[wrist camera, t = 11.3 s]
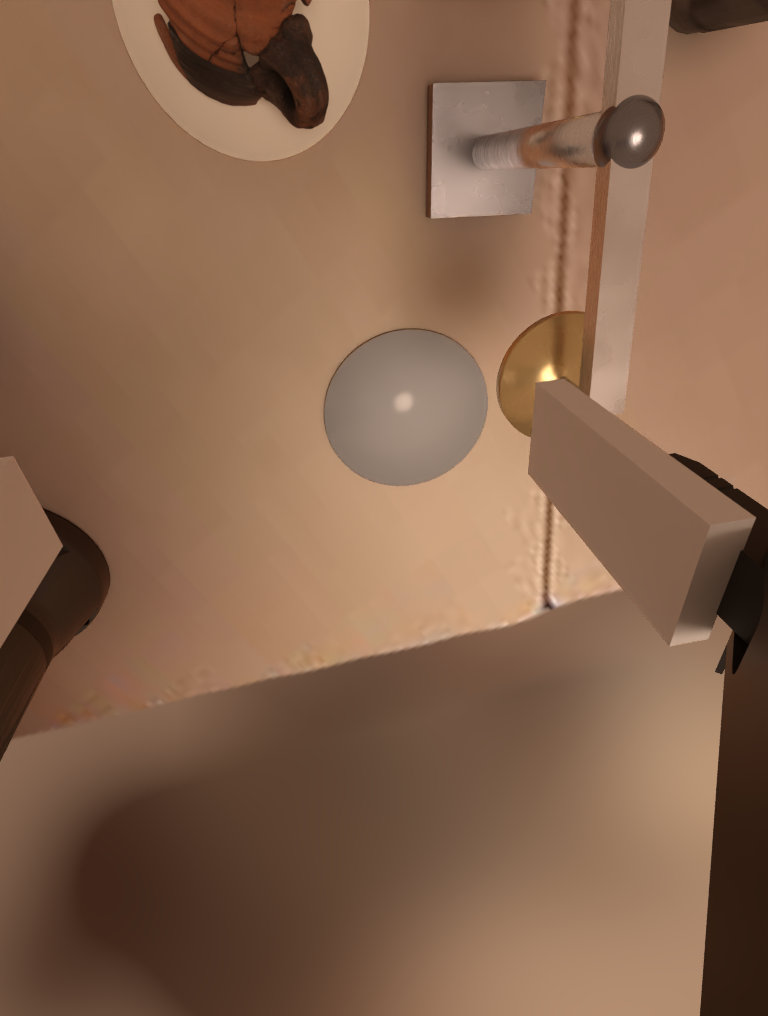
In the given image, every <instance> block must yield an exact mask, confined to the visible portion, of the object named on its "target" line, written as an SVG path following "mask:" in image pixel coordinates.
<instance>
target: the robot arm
mask: <svg viewBox="0 0 768 1016" xmlns="http://www.w3.org/2000/svg"><path fill="white" fill-rule="evenodd" d="M528 474H529V475H530V476H531V478H532V479H533V480H534V481H535V482H536V484H537V485H538V486H539V487H540V489H541V490H542V491H543V492H544V493H545V495H546V496H547V497H548V498H549V500H550V501H551V502H552V503H553V504H554V506H555V507H556V508H557V509H558V511H559V512H560V513H561V514H562V516H563V517H564V518H565V519H566V520H567V522H568V523H569V524H570V525H571V527H572V528H573V529H574V530H575V531H576V533H577V534H578V535H579V536H580V538H581V539H582V540H583V541H584V542H585V544H586V545H587V546H588V547H589V549H590V550H591V551H592V552H593V553H594V555H595V556H596V557H597V558H598V560H599V561H600V562H601V563H602V564H603V566H604V567H605V568H606V569H607V571H608V572H609V573H610V574H611V575H612V577H613V578H614V579H615V580H616V582H617V583H618V584H619V585H620V586H621V588H622V589H623V590H624V591H625V592H626V594H627V595H628V596H629V597H630V599H631V600H632V601H633V602H634V604H635V605H636V606H637V607H638V608H639V610H640V611H641V612H642V613H643V615H644V616H645V617H646V618H647V620H648V621H649V622H650V623H651V624H652V626H653V627H654V628H655V629H656V631H657V632H658V633H659V634H660V635H661V637H662V638H663V639H664V640H665V642H666V643H667V644H668V645H669V646H674V645H678V644H684V643H690V642H695V641H700V640H705V639H708V638H709V635H710V633H711V630H712V628H713V625H714V622H715V620H716V617H717V615H719V617H720V618H721V619H722V620H723V621H724V622H725V623H726V624H727V625H728V626H729V627H730V628H731V629H732V630H733V631H732V633H731V636H730V638H729V640H728V643H727V645H726V648H725V650H724V652H723V655H722V657H721V659H720V661H719V664H718V666H717V668H716V671H715V672H717V673H720V674H722V673H723V671H724V669H725V677H724V690H723V704H722V718H721V732H720V746H719V761H718V773H717V787H716V801H715V815H714V829H713V842H712V856H711V870H710V884H709V899H708V911H707V912H708V913H707V925H706V940H705V953H704V968H703V980H702V994H701V1008H700V1016H768V509H766V508H765V507H763V506H762V505H761V504H759V503H758V502H756V501H755V500H753V499H752V498H750V497H749V496H747V495H746V494H745V493H743V492H742V491H740V490H739V489H734V488H733V485H731V484H730V483H729V482H727V481H726V480H724V479H723V478H718V475H717V474H715V473H714V472H713V471H711V470H710V469H708V468H707V467H705V466H704V465H702V464H701V463H699V462H697V461H694V460H691V459H689V458H686V457H684V456H681V455H678V454H676V453H673V454H667V453H666V452H665V451H663V450H662V449H660V448H659V447H658V446H656V445H655V444H654V443H652V442H651V441H649V440H648V439H647V438H645V437H644V436H642V435H641V434H640V433H638V432H637V431H636V430H634V429H633V428H631V427H630V426H629V425H627V424H626V423H624V422H623V421H622V420H620V419H619V418H618V417H616V416H615V415H613V414H612V413H611V412H609V411H608V410H606V409H605V408H604V407H602V406H601V405H600V404H598V403H597V402H595V401H594V400H593V399H591V398H590V397H588V396H587V395H586V394H584V393H583V392H582V391H580V390H579V389H577V388H576V387H575V386H573V385H572V384H570V383H569V382H568V381H566V380H565V379H557V380H550V381H543V382H536V387H535V398H534V410H533V421H532V433H531V445H530V456H529V468H528ZM109 585H110V575H109V570H108V566H107V563H106V561H105V559H104V557H103V555H102V553H101V552H100V550H99V549H98V547H97V546H96V545H95V544H94V542H93V541H92V540H91V539H90V538H89V537H88V536H87V535H85V534H84V533H83V532H82V531H81V530H80V529H78V528H77V527H75V526H74V525H72V524H71V523H69V522H68V521H66V520H64V519H63V518H61V517H59V516H57V515H55V514H52V513H50V512H48V511H45V510H43V509H42V507H41V505H40V503H39V501H38V500H37V498H36V496H35V494H34V492H33V491H32V489H31V487H30V485H29V483H28V481H27V480H26V478H25V476H24V474H23V472H22V471H21V469H20V467H19V465H18V463H17V462H16V460H15V458H14V456H8V457H1V458H0V761H1V759H2V757H3V755H4V753H5V751H6V749H7V747H8V745H9V743H10V741H11V739H12V737H13V735H14V733H15V731H16V729H17V727H18V725H19V723H20V721H21V719H22V717H23V715H24V713H25V711H26V709H27V707H28V705H29V703H30V701H31V699H32V697H33V695H34V693H35V691H36V690H37V688H38V686H39V684H40V682H41V680H42V678H43V675H44V673H45V672H46V670H47V668H48V666H49V664H50V662H51V660H52V659H53V658H54V657H55V656H56V655H57V654H58V653H59V652H60V651H61V650H62V649H63V648H64V647H65V646H66V645H67V644H68V643H69V642H70V641H71V640H72V639H73V637H74V636H76V635H77V634H79V633H80V632H82V631H83V630H84V629H85V628H86V627H87V626H89V625H90V624H91V622H92V621H93V620H94V619H95V617H96V616H97V614H98V613H99V611H100V609H101V607H102V605H103V603H104V600H105V598H106V596H107V594H108V590H109Z"/></svg>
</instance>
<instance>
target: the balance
mask: <svg viewBox="0 0 768 1016" xmlns="http://www.w3.org/2000/svg"><path fill="white" fill-rule="evenodd" d="M671 2H672V0H610V11H609V24H608V36H607V48H606V60H605V73H604V85H603V97H602V110H601V112H597V113H592V114H587V115H582V116H577V117H573V118H568V119H563V120H558V121H553V122H548V123H544V124H541V122H542V113H543V104H544V95H545V86H546V80H545V81H502V82H459V83H433V84H431V85H430V86H428V123H427V206H426V217H428V218H448V217H469V216H489V215H510V214H530V213H531V212H532V203H533V194H534V185H535V176H536V169H546V168H594V167H597V171H596V183H595V195H594V208H593V220H592V232H591V244H590V257H589V269H588V281H587V293H586V306H585V312H581V311H564V312H559V313H555V314H551V315H549V316H547V317H544V318H542V319H540V320H539V321H537V322H535V323H534V324H532V325H531V326H529V327H528V328H527V329H526V330H525V331H523V332H522V333H521V334H520V335H519V336H518V337H517V339H516V340H515V341H514V342H513V343H512V345H511V346H510V348H509V349H508V351H507V352H506V354H505V356H504V358H503V360H502V363H501V365H500V369H499V372H498V377H497V388H496V391H497V399H498V402H499V406H500V408H501V410H502V412H503V414H504V416H505V417H506V418H507V420H508V421H509V422H510V423H511V424H512V425H513V427H514V428H516V429H517V430H518V431H519V432H521V433H523V434H524V435H527V436H529V437H531V433H532V421H533V410H534V398H535V387H536V382H543V381H550V380H557V379H565V380H566V381H568V382H569V383H570V384H572V385H573V386H575V387H576V388H577V389H579V390H580V391H582V392H583V393H584V394H586V395H587V396H588V397H590V398H591V399H593V400H594V401H595V402H597V403H598V404H600V405H601V406H602V407H604V408H605V409H606V410H608V411H609V412H611V413H612V414H619V413H624V407H625V398H626V389H627V381H628V372H629V363H630V355H631V346H632V338H633V329H634V320H635V312H636V303H637V295H638V286H639V277H640V269H641V260H642V251H643V243H644V234H645V226H646V217H647V208H648V200H649V191H650V183H651V174H652V165H653V157H654V155H655V154H656V152H657V151H658V149H659V147H660V145H661V142H662V140H663V136H664V131H665V119H664V114H663V111H662V109H661V107H660V106H659V105H660V96H661V88H662V79H663V71H664V62H665V53H666V45H667V36H668V27H669V19H670V10H671Z"/></svg>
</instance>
